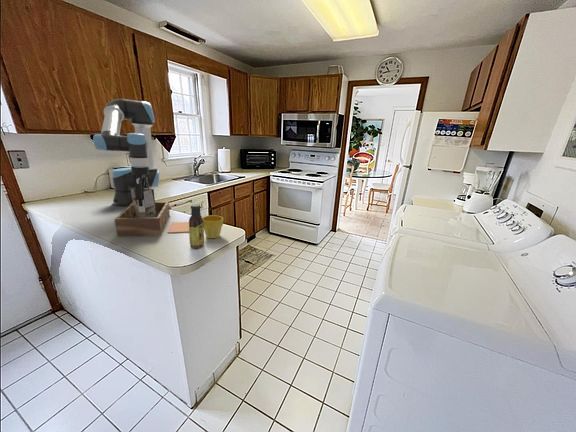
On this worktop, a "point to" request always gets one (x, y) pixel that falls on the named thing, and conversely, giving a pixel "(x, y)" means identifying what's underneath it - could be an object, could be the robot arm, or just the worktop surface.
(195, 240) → the sauce bottle
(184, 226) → the terracotta tile
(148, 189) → the coffee box
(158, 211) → the walnut box
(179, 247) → the worktop surface
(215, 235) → the plant pot
